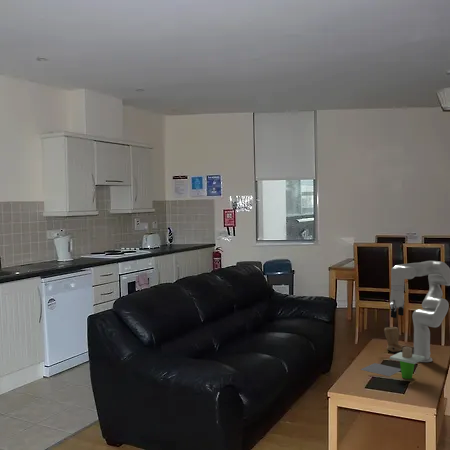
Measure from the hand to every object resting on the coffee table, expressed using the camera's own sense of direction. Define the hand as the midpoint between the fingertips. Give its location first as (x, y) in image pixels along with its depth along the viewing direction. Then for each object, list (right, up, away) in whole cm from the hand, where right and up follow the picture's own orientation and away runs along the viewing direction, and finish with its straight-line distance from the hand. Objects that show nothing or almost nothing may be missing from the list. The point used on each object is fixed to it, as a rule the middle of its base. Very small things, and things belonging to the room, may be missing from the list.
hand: (397, 316), depth 314 cm
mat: (-11, -30, -7) cm, 33 cm away
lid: (-1, -20, -21) cm, 29 cm away
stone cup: (+10, -30, +40) cm, 51 cm away
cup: (-1, -31, -21) cm, 38 cm away
